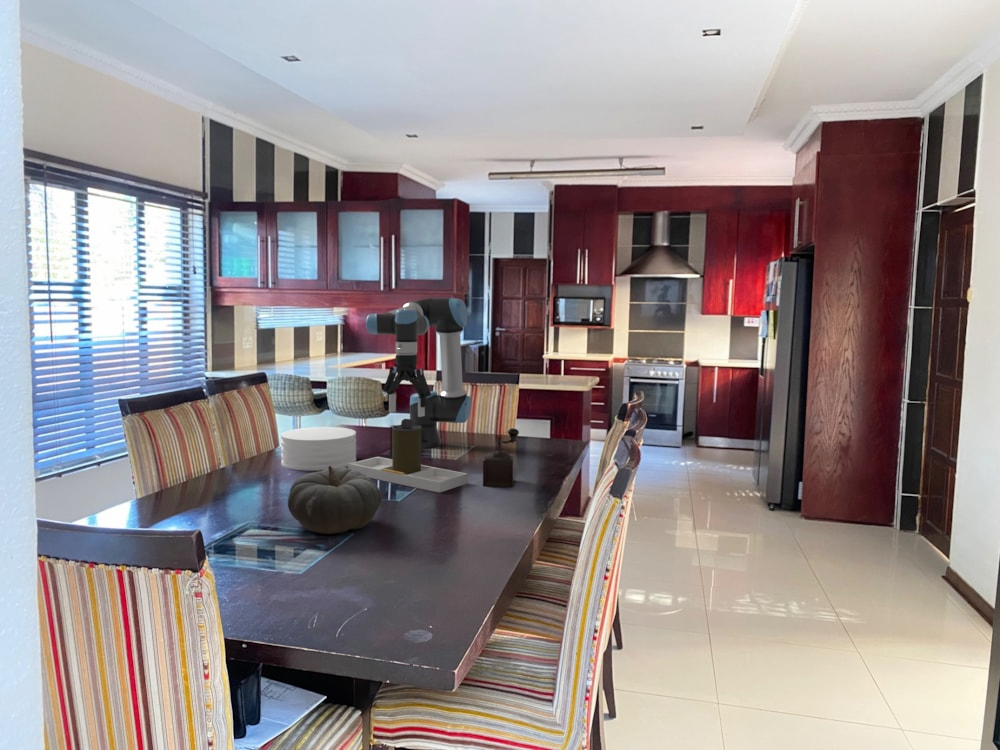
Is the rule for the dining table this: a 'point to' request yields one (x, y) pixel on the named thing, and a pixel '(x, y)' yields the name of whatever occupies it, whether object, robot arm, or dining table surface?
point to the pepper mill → (500, 465)
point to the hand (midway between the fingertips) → (406, 414)
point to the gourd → (334, 500)
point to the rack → (410, 475)
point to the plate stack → (318, 448)
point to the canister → (406, 447)
